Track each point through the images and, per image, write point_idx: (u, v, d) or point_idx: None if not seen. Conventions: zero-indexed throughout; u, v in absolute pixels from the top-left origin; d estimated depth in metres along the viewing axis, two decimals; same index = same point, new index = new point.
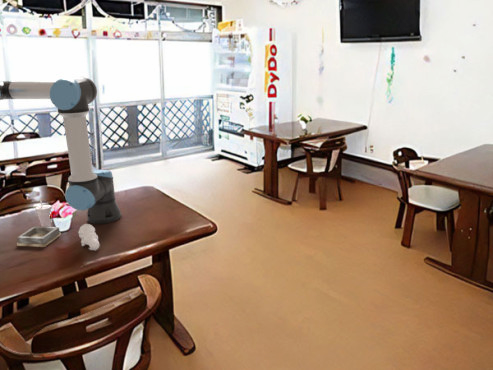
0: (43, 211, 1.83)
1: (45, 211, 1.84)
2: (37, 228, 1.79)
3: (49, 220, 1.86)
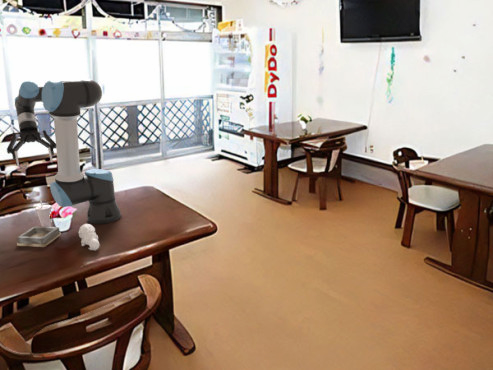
0: (43, 211, 1.83)
1: (45, 211, 1.84)
2: (37, 228, 1.79)
3: (49, 220, 1.86)
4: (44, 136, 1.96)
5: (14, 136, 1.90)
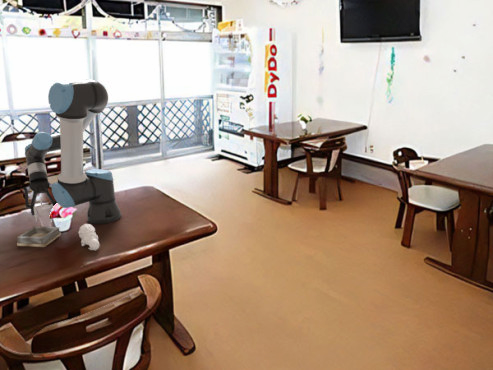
0: (43, 211, 1.83)
1: (45, 211, 1.84)
2: (37, 228, 1.79)
3: (49, 220, 1.86)
4: None
5: (26, 190, 1.86)
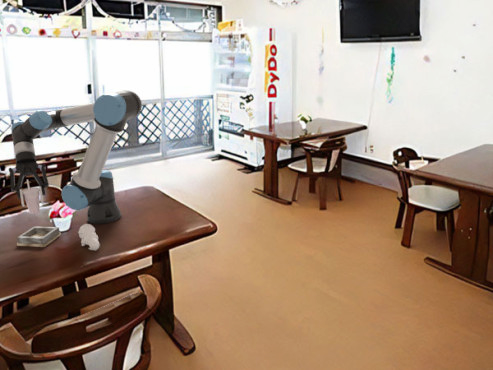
0: (30, 194, 1.67)
1: (32, 194, 1.67)
2: (37, 228, 1.79)
3: (36, 204, 1.70)
4: (41, 170, 1.75)
5: (11, 171, 1.70)
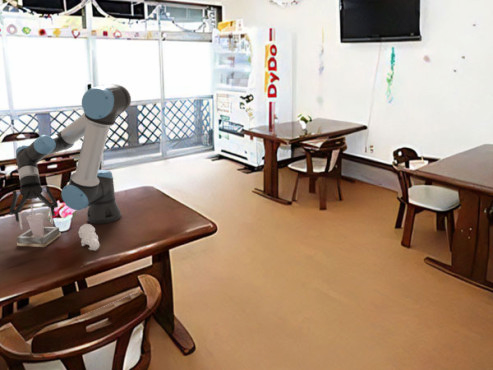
0: (34, 220, 1.70)
1: (37, 220, 1.70)
2: None
3: (41, 230, 1.73)
4: (46, 192, 1.79)
5: (15, 194, 1.73)
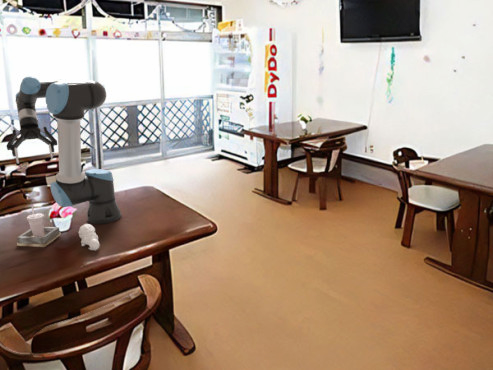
0: (35, 221, 1.70)
1: (37, 220, 1.71)
2: None
3: (41, 230, 1.73)
4: (45, 133, 1.93)
5: (14, 132, 1.87)
